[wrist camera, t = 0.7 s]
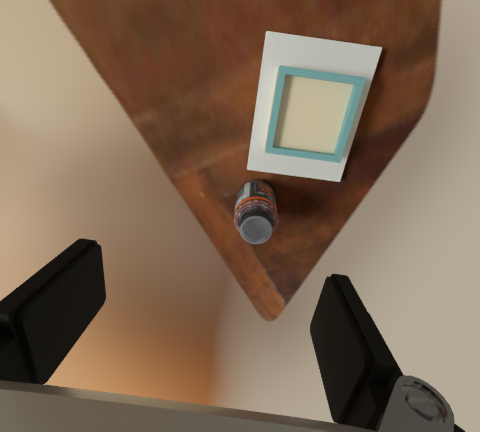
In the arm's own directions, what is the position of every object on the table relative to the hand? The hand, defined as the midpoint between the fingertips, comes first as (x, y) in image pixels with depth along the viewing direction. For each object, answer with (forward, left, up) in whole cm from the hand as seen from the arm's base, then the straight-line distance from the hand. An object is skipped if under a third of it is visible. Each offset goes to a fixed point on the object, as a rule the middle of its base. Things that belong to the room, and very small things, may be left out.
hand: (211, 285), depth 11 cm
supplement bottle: (+8, +3, -30) cm, 32 cm away
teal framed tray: (-5, +8, -30) cm, 32 cm away
